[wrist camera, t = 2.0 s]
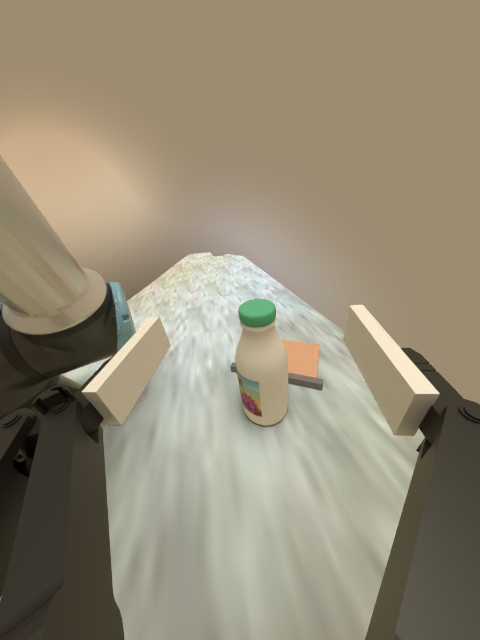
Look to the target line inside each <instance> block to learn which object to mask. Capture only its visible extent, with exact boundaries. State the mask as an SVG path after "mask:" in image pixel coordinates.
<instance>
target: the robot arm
mask: <svg viewBox="0 0 480 640" xmlns="http://www.w3.org/2000/svg"><path fill="white" fill-rule="evenodd" d="M0 302H2V303H3V305H2V304H0V597H1V595H2V597H1V601H0V640H124V631H123V623H122V618H121V614H120V610H119V608H118V606H117V604H116V602H115V600H114V596H113V587H112V571H111V556H110V540H109V524H108V509H107V493H106V478H105V462H104V446H103V431H102V427H101V426H100V423H101V422H102V421H103V419H104V420H105V421H106V422H107V424H108V425H111V426H122V425H123V423H124V421H125V420H126V418H127V417H128V415H129V413H130V412H131V410H132V408H133V407H134V405H135V403H136V402H137V400H138V399H139V397H140V395H141V394H142V392H143V390H144V389H145V387H146V385H147V384H148V382H149V381H150V379H151V377H152V376H153V374H154V372H155V371H156V369H157V367H158V366H159V364H160V362H161V361H162V359H163V358H164V356H165V354H166V353H167V351H168V349H169V348H170V346H171V345H170V342H169V340H168V337H167V335H166V332H165V330H164V327H163V325H162V322H161V320H160V317H150V318H149V319H148V320H147V321H146V322H145V323H144V324H143V325H142V326H141V327H140V329H139V330H138V331H137V332H136V330H135V327H134V323H133V320H132V317H131V313H130V310H129V307H128V304H127V301H126V298H125V295H124V292H123V289H122V287H121V285H120V283H118V282H108V283H107V284H106V283H105V281H104V279H103V278H102V277H101V276H100V275H99V274H98V273H96V272H95V271H93V270H90V269H87V268H82V267H80V266H79V265H78V263H77V262H76V260H75V259H74V257H73V256H72V255H71V253H70V252H69V250H68V249H67V248H66V246H65V245H64V243H63V242H62V241H61V239H60V238H59V236H58V235H57V234H56V232H55V231H54V229H53V228H52V227H51V225H50V224H49V223H48V221H47V220H46V218H45V217H44V216H43V214H42V213H41V211H40V210H39V209H38V207H37V206H36V204H35V203H34V202H33V200H32V199H31V197H30V196H29V195H28V193H27V192H26V191H25V189H24V188H23V186H22V185H21V183H20V182H19V181H18V179H17V178H16V176H15V175H14V174H13V172H12V171H11V170H10V168H9V167H8V165H7V164H6V162H5V161H4V160H3V159H2V157H1V155H0ZM343 340H344V342H345V344H346V346H347V348H348V349H349V351H350V353H351V355H352V357H353V359H354V361H355V363H356V364H357V366H358V368H359V370H360V372H361V374H362V376H363V378H364V380H365V381H366V383H367V385H368V387H369V389H370V391H371V393H372V395H373V396H374V398H375V400H376V402H377V404H378V406H379V408H380V410H381V411H382V413H383V415H384V417H385V419H386V421H387V423H388V425H389V426H390V428H391V430H392V432H393V434H394V435H404V436H414V435H415V434H416V432H417V430H418V429H419V428H420V430H421V431H422V433H423V435H424V436H425V438H424V440H423V441H422V443H421V444H420V446H419V447H418V449H417V450H416V451H418V452H419V455H418V459H417V462H416V466H415V469H414V473H413V476H412V480H411V483H410V487H409V490H408V493H407V497H406V500H405V504H404V507H403V511H402V514H401V518H400V521H399V525H398V528H397V531H396V535H395V538H394V542H393V545H392V549H391V552H390V556H389V559H388V563H387V566H386V569H385V573H384V576H383V580H382V583H381V587H380V590H379V594H378V597H377V601H376V604H375V607H374V611H373V614H372V618H371V621H370V625H369V628H368V632H367V635H366V638H365V640H480V405H479V404H478V403H476V402H472V401H469V400H466V399H463V398H462V397H461V396H460V395H459V394H458V392H457V391H456V390H455V389H454V388H453V387H452V386H451V385H450V384H449V383H448V382H447V381H446V380H445V379H444V378H443V377H442V376H441V375H440V374H439V373H438V372H436V370H435V369H434V368H433V367H432V365H429V362H428V361H427V360H426V359H424V357H423V356H422V355H421V354H419V353H417V352H416V351H414V350H413V349H411V348H400V347H399V346H398V345H397V344H396V343H395V342H394V340H393V339H392V338H391V337H390V336H389V335H388V334H387V332H386V331H385V330H384V329H383V328H382V327H381V326H380V324H379V323H378V322H377V321H376V320H375V319H374V317H373V316H372V315H371V314H370V313H369V312H368V310H366V308H365V307H364V306H363V305H352V306H349V312H348V317H347V323H346V329H345V333H344V339H343ZM111 356H113V357H111ZM108 357H111V358H110V359H108V360H107V361H106V362H104V363H103V364H102V366H101V367H100V368H99V369H98V370H97V371H96V372H95V373H94V374H93V376H91V377H90V378H89V379H88V380H87V381H86V383H85V384H84V385H81V384H79V383H77V382H75V381H73V380H71V379H69V378H67V377H65V376H63V375H61V374H63V373H66V372H69V371H71V370H74V369H77V368H80V367H83V366H85V365H88V364H91V363H94V362H97V361H100V360H103V359H105V358H108Z"/></svg>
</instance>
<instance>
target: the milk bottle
mask: <svg viewBox="0 0 480 640" xmlns="http://www.w3.org/2000/svg"><path fill="white" fill-rule="evenodd" d="M275 317H276V308H275V305H274V304H273V303H272V302H271V301H269V300H265V299H254V300H249V301H247V302H245V303H243V304H242V305H241V306H240V307H239V319H240V325H241V326H242V327H243V329H242V335H241V338H240V340H239V343H238V346H237V349H236V369H237V375H238V381H239V387H240V392H241V398H242V403H243V408H244V411H245V413H246V415H247V417H248V418H249V419H250V420H252V421H253V422H255V423H256V424H259V425H264V426H268V425H273V424H276V423H278V422H279V421H280V420H282V419H283V417H284V416H285V415H286V412H287V409H288V357H287V352H286V348H285V346H284V344H283V342H282V340H281V338H280V337H279V335H278V333H277V331H276V329H275V326H274V324H275V323H276V318H275Z"/></svg>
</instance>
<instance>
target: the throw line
mask: <svg viewBox="0 0 480 640" xmlns="http://www.w3.org/2000/svg"><path fill="white" fill-rule="evenodd" d="M231 371H232V372H237V369H236V363H232V365H231ZM288 383H290V384H295V385H300V386H305V387H310V388H314V389H319V390H322V386H323V379H318V378H313V377H308V376H302V375H297V374H292V373H288Z"/></svg>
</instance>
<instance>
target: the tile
mask: <svg viewBox="0 0 480 640" xmlns="http://www.w3.org/2000/svg"><path fill="white" fill-rule="evenodd" d="M282 342H283V344H284V346H285V348H286V352H287V357H288V373H292V374H297V375H302V376H308V377H313V378H317V371H318V358H319V345H318V344H310V343H303V342H295V341H288V340H282Z"/></svg>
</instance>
